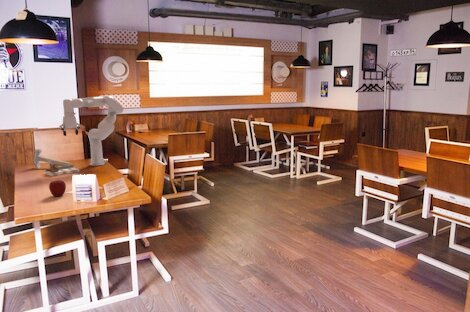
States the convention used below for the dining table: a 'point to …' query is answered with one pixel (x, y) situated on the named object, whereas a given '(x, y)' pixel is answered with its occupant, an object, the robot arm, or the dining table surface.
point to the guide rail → (61, 167)
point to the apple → (57, 187)
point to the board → (62, 171)
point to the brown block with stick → (54, 167)
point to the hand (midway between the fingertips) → (71, 135)
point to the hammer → (47, 159)
